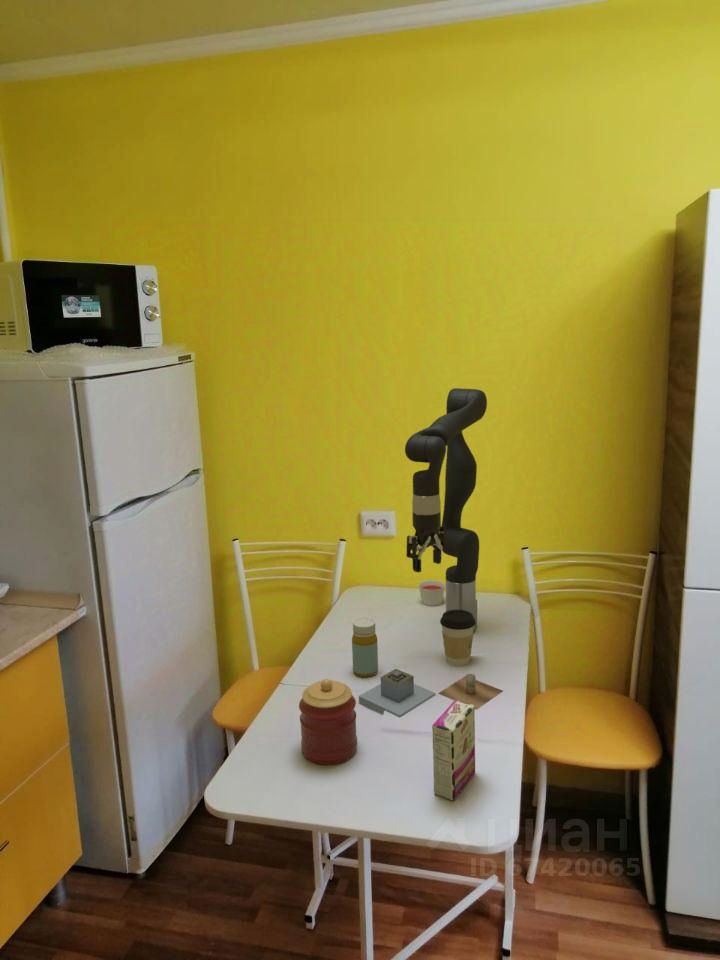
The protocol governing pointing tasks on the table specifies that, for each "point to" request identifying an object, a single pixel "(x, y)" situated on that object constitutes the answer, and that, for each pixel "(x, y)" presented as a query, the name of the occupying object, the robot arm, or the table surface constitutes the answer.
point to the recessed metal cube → (397, 686)
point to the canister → (328, 722)
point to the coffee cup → (457, 636)
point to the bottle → (364, 648)
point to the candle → (432, 592)
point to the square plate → (382, 703)
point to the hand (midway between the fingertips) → (427, 567)
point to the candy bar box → (454, 749)
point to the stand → (471, 691)
